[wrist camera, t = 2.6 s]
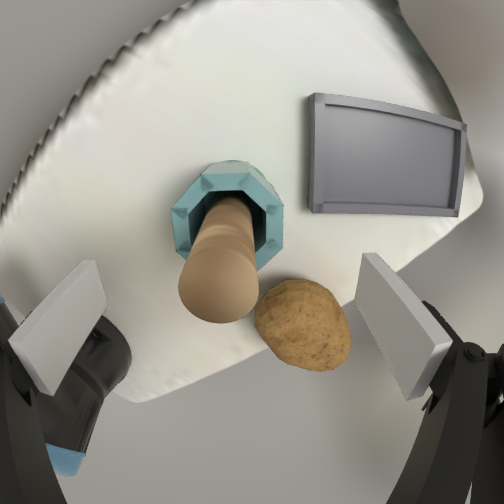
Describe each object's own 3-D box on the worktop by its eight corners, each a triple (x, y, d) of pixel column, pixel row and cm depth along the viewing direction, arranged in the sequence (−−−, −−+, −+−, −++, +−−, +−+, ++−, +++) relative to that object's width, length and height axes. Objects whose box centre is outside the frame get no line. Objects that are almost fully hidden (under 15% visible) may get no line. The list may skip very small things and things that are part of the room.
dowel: (215, 218, 28) (184, 323, 13) (213, 184, 27) (173, 255, 11) (249, 217, 29) (259, 322, 13) (249, 183, 27) (258, 253, 12)
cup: (196, 237, 30) (178, 279, 22) (190, 162, 27) (166, 175, 18) (271, 234, 30) (282, 277, 22) (271, 159, 27) (285, 170, 18)
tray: (307, 207, 29) (312, 213, 27) (308, 95, 24) (314, 92, 22) (447, 211, 30) (457, 217, 28) (454, 123, 25) (466, 124, 23)
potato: (302, 354, 38) (312, 396, 31) (233, 297, 34) (232, 340, 26) (357, 315, 36) (378, 354, 28) (296, 246, 31) (312, 281, 24)
